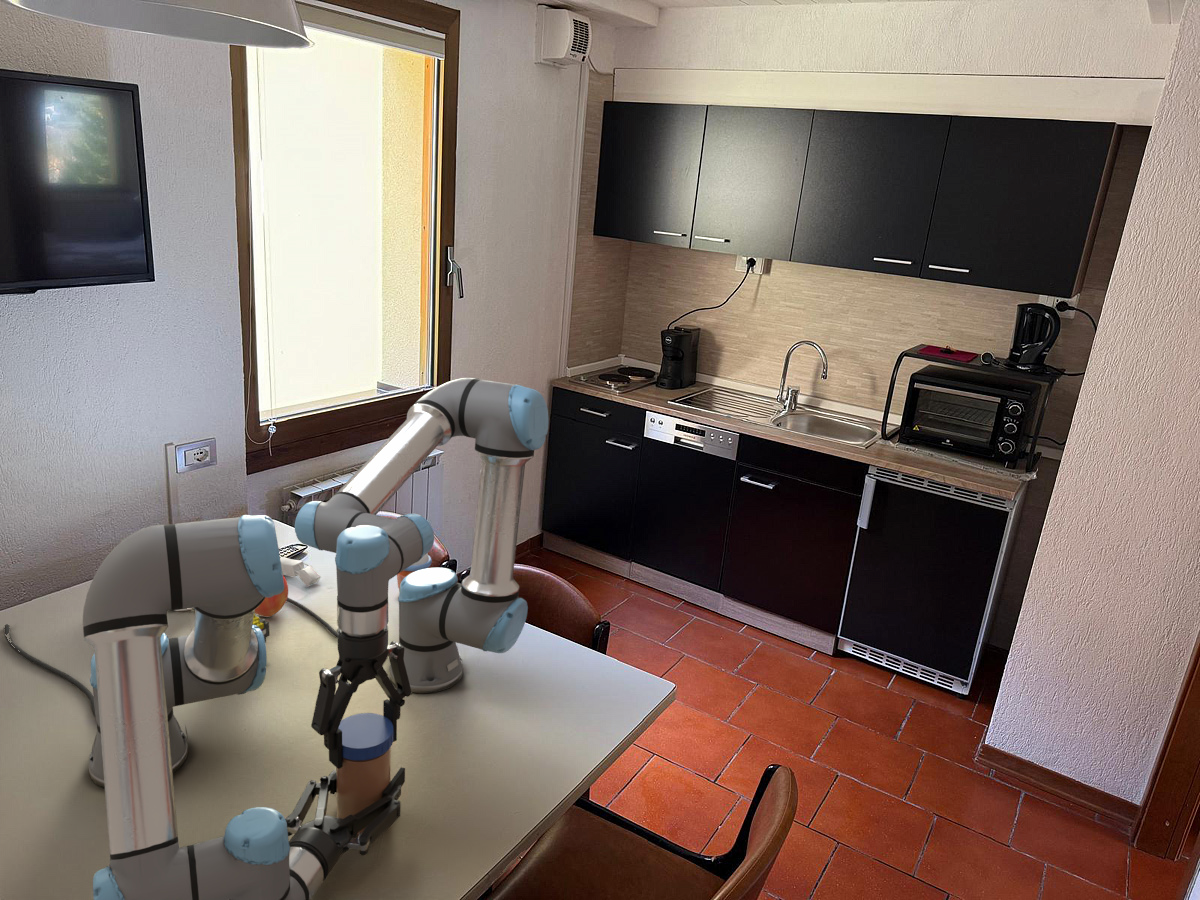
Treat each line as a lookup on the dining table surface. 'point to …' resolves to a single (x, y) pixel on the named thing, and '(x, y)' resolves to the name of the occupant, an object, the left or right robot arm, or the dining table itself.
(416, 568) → the cup with straw
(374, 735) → the lid
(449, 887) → the dining table surface
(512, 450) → the right robot arm
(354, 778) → the jar
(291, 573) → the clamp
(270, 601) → the apple
